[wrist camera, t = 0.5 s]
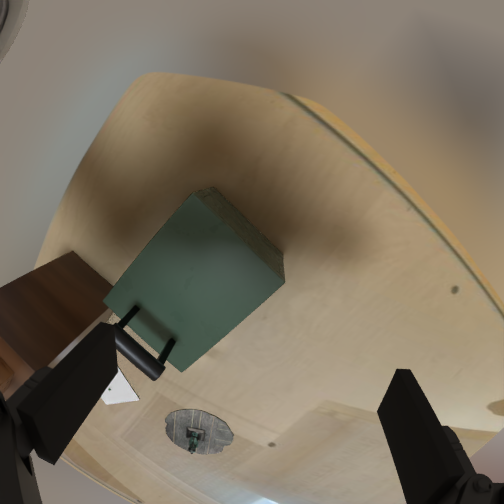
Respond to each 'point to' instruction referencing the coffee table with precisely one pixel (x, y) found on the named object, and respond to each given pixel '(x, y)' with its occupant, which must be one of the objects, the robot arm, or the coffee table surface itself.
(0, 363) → the block
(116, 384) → the coaster
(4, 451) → the robot arm
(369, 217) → the coffee table surface
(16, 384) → the plinth
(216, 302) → the box lid
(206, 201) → the green box
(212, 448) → the sculpture
